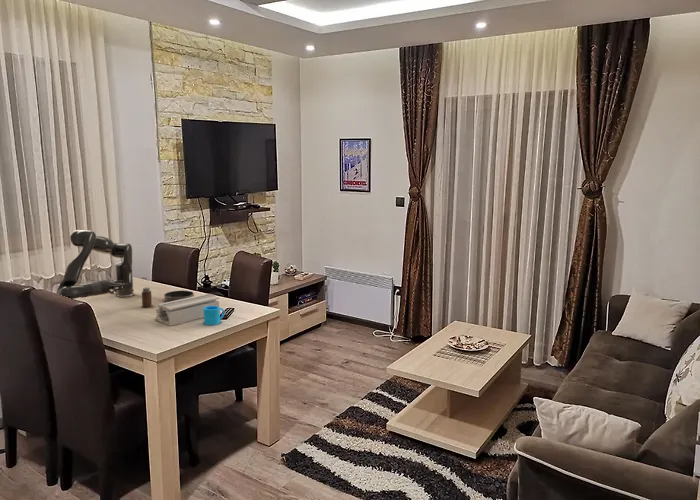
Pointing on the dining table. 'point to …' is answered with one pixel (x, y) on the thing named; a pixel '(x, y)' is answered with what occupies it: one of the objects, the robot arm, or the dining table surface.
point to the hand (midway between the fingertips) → (127, 283)
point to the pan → (177, 295)
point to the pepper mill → (146, 298)
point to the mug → (212, 315)
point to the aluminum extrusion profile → (185, 309)
